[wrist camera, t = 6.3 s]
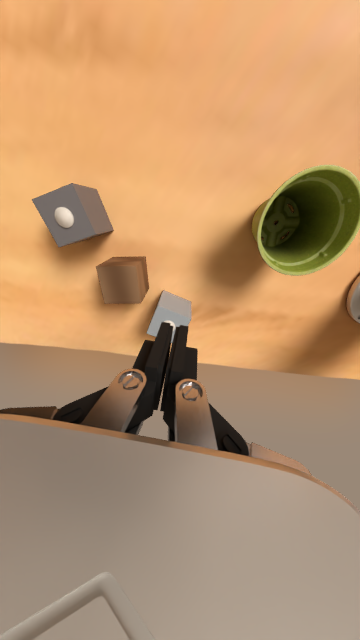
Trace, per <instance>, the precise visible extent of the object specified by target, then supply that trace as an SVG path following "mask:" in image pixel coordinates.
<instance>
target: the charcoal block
mask: <svg viewBox="0 0 360 640" xmlns="http://www.w3.org/2000/svg"><path fill="white" fill-rule="evenodd" d="M32 201H33V203H34V204H35V206H36V208H37V210H38V211H39V213H40V215H41V217H42V219H43V220H44V222H45V224H46V226H47V227H48V229H49V231H50V233H51V234H52V236H53V238H54V240H55V241H56V243H57V245H58V247H62V246H65V245H69V244H73V243H77V242H81V241H84V240H87V239H90V238H93V237H96V236H99V235H102V234H104V233H107V232H110V231H113V227H112V225H111V223H110V220H109V218H108V215H107V213H106V211H105V208H104V206H103V203H102V201H101V199H100V196H99V194H98V191H97V189H93V188H89V187H85V186H81V185H77V184H73V183H71V184H69V185H66V186H64V187H61V188H59V189H57V190H54V191H52V192H49V193H47V194H44V195H42V196H39V197H37V198H35V199H32Z"/></svg>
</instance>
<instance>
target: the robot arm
mask: <svg viewBox="0 0 360 640" xmlns="http://www.w3.org/2000/svg"><path fill="white" fill-rule="evenodd" d="M347 310H348V313H349V315H350V316H351V317H352V318H353V319H354V320H355V321H356V322H358V323H360V275H359V276H358V278H357V279H356V280H355V282H354V283H353V285H352V287H351V289H350V291H349V293H348V297H347ZM172 333H173V326H170V323H166V322H161V325H160V328H159V331H158V333H157V336H156V339H155V341H149V340H145V341H144V343H143V346H142V348H141V350H140V352H139V355H138V357H137V359H136V361H135V364H134V366H133V368H132V369H127V370H124V371H122V372H120V373H119V374H118V375H117V376H116V377H115V379H114V380H113V381H112V383H111V384H110V385H109V386H108V387H106V388H104V389H102V390H99V391H97V392H95V393H92V394H90V395H88V396H86V397H83V398H81V399H79V400H76V401H74V402H72V403H69V404H68V405H65V406H64V407H62V408H61V409H57V408H56V406H51V407H23V408H7V409H2V410H0V640H360V511H359V510H358V509H357V508H356V507H355V506H354V505H353V504H352V503H351V502H350V501H349V500H348V499H346V497H344V496H343V495H342V494H340V493H339V492H337V491H336V490H335V489H333V488H332V487H330V486H329V485H327V484H325V483H324V482H322V481H320V480H318V479H316V478H315V477H313V476H312V475H311V473H310V472H309V470H308V469H307V468H305V467H304V466H303V465H302V464H301V463H299V462H297V461H296V460H293V459H291V458H288V457H286V456H284V455H281V454H279V453H276V452H274V451H272V450H270V449H267V448H265V447H262V446H260V445H257V444H255V443H253V442H252V443H251V444H249V443H247V442H245V440H244V439H243V438H242V436H241V435H240V434H239V433H238V432H237V431H236V430H235V429H234V428H233V427H232V426H231V425H230V424H229V423H228V422H227V421H226V420H225V419H224V418H223V417H222V416H221V415H220V414H219V413H218V412H217V411H216V410H215V409H214V408H213V407H212V406H211V405H210V404H209V403H208V399H207V394H206V390H205V388H204V386H203V385H202V384H201V383H200V382H198V381H197V349H195V348H189V347H186V343H187V334H188V326H184V325H180V327H176V329H175V334H174V338H173V342H172V347H171V351H170V346H171V340H172ZM169 353H170V356H169ZM165 374H166V375H165ZM164 378H165V382H164ZM163 383H164V389H163V397H162V403H161V410H160V411H164V415H163V419H164V421H165V422H166V424H167V425H168V441H166V440H161V439H156V438H150V437H145V436H140V435H138V434H139V432H140V429H141V427H142V425H143V421H144V420H146V419H147V418H149V417H150V416H152V414H153V410H157V409H158V405H159V401H160V396H161V392H162V387H163Z"/></svg>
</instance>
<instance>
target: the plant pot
mask: <svg viewBox="0 0 360 640" xmlns="http://www.w3.org/2000/svg"><path fill="white" fill-rule="evenodd" d="M287 204H290V205H292V207H293V208H294V212H293V213H292V212H291V210H290V208H289V207H288V205H287ZM275 221H278V224H277V225H274V222H275ZM359 229H360V182H359V181H358V179H357V178H356V176H355V175H354V174H353V173H351V172H350V171H348V170H346V169H344V168H342V167H339V166H334V165H320V166H315V167H311V168H308V169H306V170H303V171H301V172H299V173H298V174H296V175H294V176H293V177H291V178H290V179H288V180H287V181H286V182H285V183H283V184H282V185H281V186H280V187H279V188H278V189H277V190H276V192H275V193H274V194H273V195H272V197H271V198H270V199H268V200H266V201H265V202H264V203H263V204H262V205H261V206H260V207H259V208H258V209H257V211H256V213H255V215H254V217H253V221H252V234H253V237H254V239H255V240H256V241H257V245H258V249H259V252H260V254H261V256H262V258H263V260H264V261H265V262H266V264H267V265H269V266H270V267H271V268H272V269H274V270H275V271H277V272H279V273H282V274H286V275H294V276H299V275H306V274H310V273H313V272H316V271H318V270H320V269H322V268H324V267H326V266H328V265H329V264H331V263H332V262H333V261H335V260H336V259H337V258H338V257H339V256H341V255H342V254H343V253H344V251H345V250H346V249H347V248H348V247H349V245H350V244H351V242H352V241H353V240H354V238H355V236H356V234H357V232H358V231H359ZM288 231H289V234H288V235H287V236H286V237H285V238H284V239H280V238H281V237H283V236H284V235H285V234H286V233H287V232H288ZM261 236H262V237H263V238H264V240H261Z"/></svg>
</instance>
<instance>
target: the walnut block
mask: <svg viewBox="0 0 360 640" xmlns="http://www.w3.org/2000/svg"><path fill="white" fill-rule="evenodd" d="M96 269H97V273H98V277H99V282H100V286H101V290H102V294H103V298H104V303H105V304H125V303H141V302H142V300H143V299H144V297H145V295H146V293H147V291H148V289H149V283H148V274H147V265H146V257H112V258H110V259H109V260H107V261H105V262H103V263H102V264H100V265H98V266H96Z"/></svg>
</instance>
